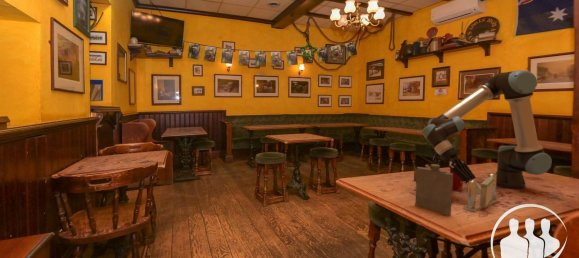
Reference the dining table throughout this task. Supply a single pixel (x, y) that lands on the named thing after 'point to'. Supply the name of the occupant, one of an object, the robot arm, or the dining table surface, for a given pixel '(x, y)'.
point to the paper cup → (456, 181)
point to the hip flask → (434, 189)
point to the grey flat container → (416, 171)
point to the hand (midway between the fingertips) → (481, 192)
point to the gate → (486, 192)
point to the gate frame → (471, 202)
